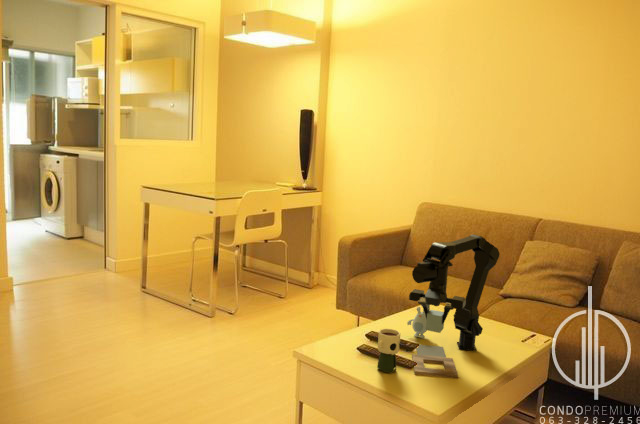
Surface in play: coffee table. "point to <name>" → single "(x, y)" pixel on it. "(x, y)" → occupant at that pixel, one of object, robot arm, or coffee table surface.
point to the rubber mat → (430, 350)
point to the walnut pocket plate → (448, 372)
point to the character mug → (388, 349)
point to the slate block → (434, 321)
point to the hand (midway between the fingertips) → (435, 322)
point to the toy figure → (419, 323)
